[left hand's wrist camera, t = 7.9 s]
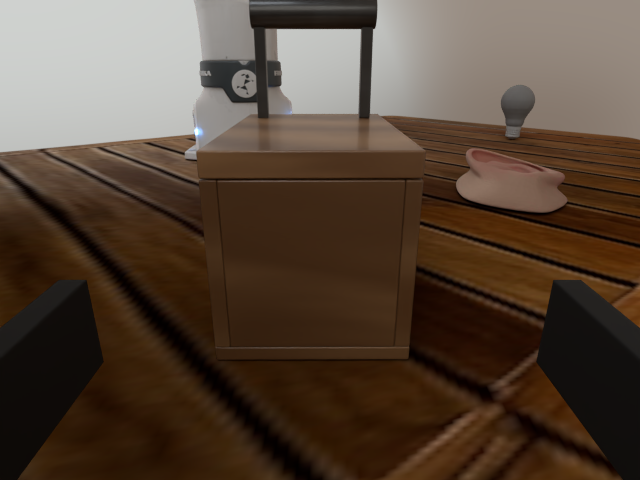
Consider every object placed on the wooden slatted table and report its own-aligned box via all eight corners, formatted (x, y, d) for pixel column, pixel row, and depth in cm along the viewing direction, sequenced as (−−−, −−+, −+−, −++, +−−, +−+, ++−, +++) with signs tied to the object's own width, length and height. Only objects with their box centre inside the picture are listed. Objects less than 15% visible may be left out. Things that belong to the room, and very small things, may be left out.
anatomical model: (584, 175, 40) (453, 166, 44) (575, 217, 42) (449, 205, 46) (564, 151, 52) (461, 146, 56) (557, 184, 54) (458, 177, 57)
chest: (255, 247, 35) (249, 132, 32) (373, 247, 36) (379, 132, 32) (216, 360, 22) (198, 180, 19) (408, 360, 22) (424, 180, 19)
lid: (250, 130, 33) (244, 3, 30) (377, 130, 33) (383, 2, 30) (198, 179, 19) (174, -59, 16) (424, 178, 19) (444, -59, 16)
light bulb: (501, 140, 86) (509, 85, 82) (492, 136, 91) (499, 84, 88) (533, 140, 86) (542, 85, 82) (522, 136, 91) (530, 84, 88)
